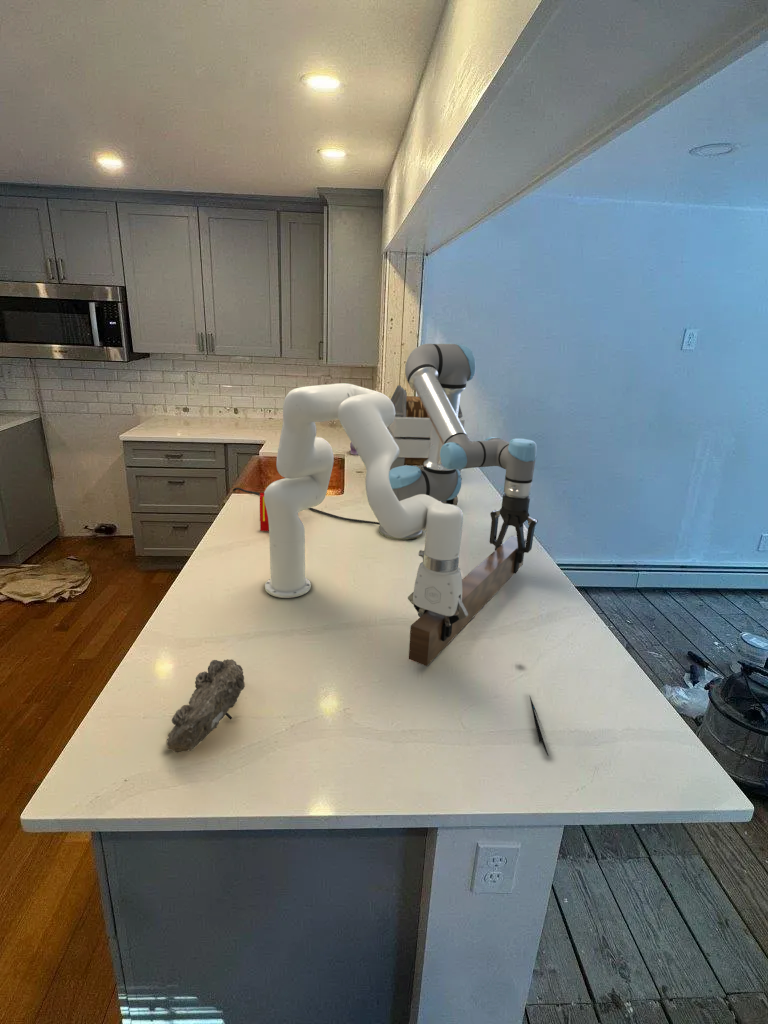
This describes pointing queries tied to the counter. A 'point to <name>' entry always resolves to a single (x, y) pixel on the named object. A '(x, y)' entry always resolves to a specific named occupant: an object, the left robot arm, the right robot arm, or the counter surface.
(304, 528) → the left robot arm
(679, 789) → the counter surface
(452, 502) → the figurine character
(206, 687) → the fossil
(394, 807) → the counter surface
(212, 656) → the counter surface
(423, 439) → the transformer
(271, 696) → the counter surface
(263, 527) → the toy
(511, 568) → the post
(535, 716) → the feather
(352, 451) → the figurine
